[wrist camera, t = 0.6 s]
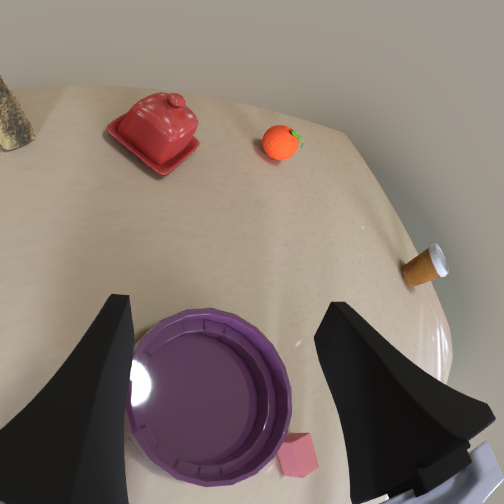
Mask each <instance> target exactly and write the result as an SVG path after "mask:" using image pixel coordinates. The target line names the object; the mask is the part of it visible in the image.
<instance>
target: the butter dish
mask: <svg viewBox="0 0 504 504" xmlns="http://www.w3.org/2000/svg"><path fill="white" fill-rule="evenodd" d="M197 126H198V119H197V117H196V116H195V114H194V113H193V112H192V111H191V110H190V109H189V108H188V107H187V106H186V105H185V99H184V98H183V97H182V96H181V95H179V94H177V93H171V94H167V93H155V94H152V95H150V96H148V97H146V98H144V99H142V100H140V101H139V102H137V103H136V104H135V105H134V106H133V107H132V108H131V109H130V110H129V112H128V113H126V114H124V115H122V116H120V117H119V118H117V119H116V120H114V121H113V122H111V123H110V124H109V125H108V126H107V131H108V132H109V133H110V134H111V135H112V136H113V137H114V138H115V139H117V140H118V141H119V142H120V143H122V144H123V145H124V146H125V147H126V148H128V149H129V150H130V151H131V152H132V153H133V154H135V155H136V156H137V157H138V158H139V159H141V160H142V161H143V162H144V163H145V164H147V165H148V166H149V167H150V168H151V169H153V170H154V171H156V172H157V173H159V174H161V175H167V174H169V173H170V172H171V171H173V170H174V169H175V168H176V167H177V166H178V165H179V164H180V163H182V162H183V161H184V160H185V159H186V158H187V157H188V156H189V155H190V154H192V153H193V152H194V151H195V150H196V149H197V147H198V146H199V141H198V140H197V139H196V138H195V137H194V136H193V135H194V133H195V131H196V128H197Z"/></svg>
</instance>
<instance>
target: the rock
mask: <svg viewBox="0 0 504 504" xmlns="http://www.w3.org/2000/svg"><path fill="white" fill-rule="evenodd" d="M34 139H35V135H33V128H32V126H31V124H30V122H29V121H28V119H27V118H26V117H25V115H24V112H23V111H22V109H21V107H20V105H19V104H18V101H17V100H16V98H15V97H14V96H13V94H12V92H11V91H10V90H9V89H8V88H7V86H6V84H5V83H4V82H3V80H2V78H1V76H0V145H1V146H2V147H3V148H4V149H6V150H11V149H15V148H18V147H21V146H24V145H26V144H28V143H29V142H30V141H32V140H34Z"/></svg>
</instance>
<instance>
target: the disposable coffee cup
mask: <svg viewBox="0 0 504 504" xmlns="http://www.w3.org/2000/svg"><path fill="white" fill-rule="evenodd" d="M448 273H449V268H448V265H447V261H446V259H445V257H444V254H443V252H442V250H441V249H440V247H439V246H438V245H437V244H431V245H430V246H429V248H428V249H426V250H425V251H424V252H422V253H421V254H419V255H418V256H417V257H415V258H414V259H412V260H411V261H410V262H408V263H407V264H405V265H404V266H402V275H403V278H404V280H405V282H406V284H407V285H408V286H409V287H413V286H416V285H419V284H422V283H425V282H428V281H431V280H433V279H436V278H439V277H445V276H446V274H448Z"/></svg>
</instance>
